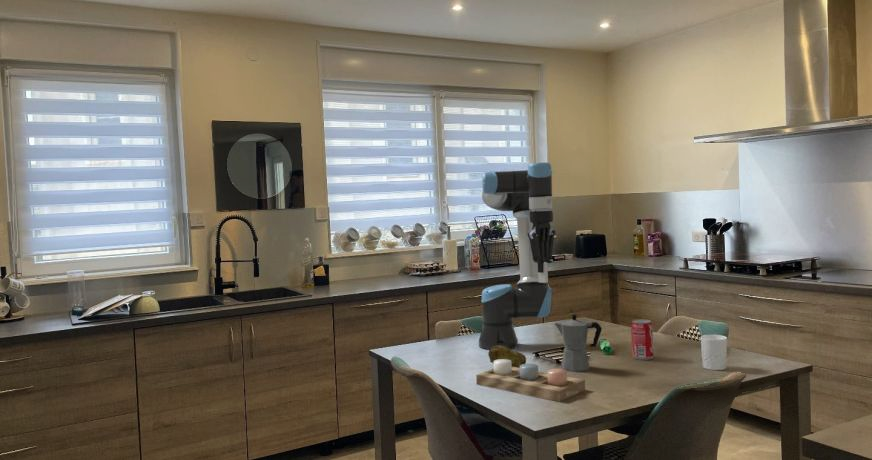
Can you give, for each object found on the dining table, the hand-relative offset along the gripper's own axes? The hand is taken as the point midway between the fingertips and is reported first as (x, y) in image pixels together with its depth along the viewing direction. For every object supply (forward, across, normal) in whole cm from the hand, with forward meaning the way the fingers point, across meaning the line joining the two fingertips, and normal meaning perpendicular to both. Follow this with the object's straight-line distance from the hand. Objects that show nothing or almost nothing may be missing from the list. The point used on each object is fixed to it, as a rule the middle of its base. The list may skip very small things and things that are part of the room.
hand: (543, 282), depth 217 cm
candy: (+30, +36, -2) cm, 46 cm away
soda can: (+30, +33, -18) cm, 48 cm away
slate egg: (+28, -18, -6) cm, 34 cm away
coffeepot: (+30, +9, -7) cm, 32 cm away
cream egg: (+28, -18, +4) cm, 34 cm away
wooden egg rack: (+29, -18, -6) cm, 35 cm away
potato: (+30, -5, +12) cm, 32 cm away
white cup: (+30, +34, -42) cm, 62 cm away
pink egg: (+28, -18, -16) cm, 37 cm away
